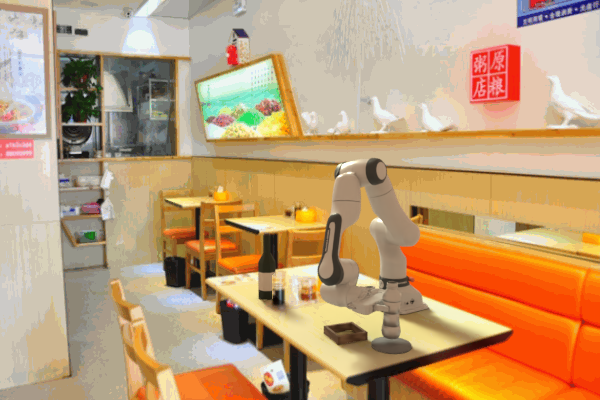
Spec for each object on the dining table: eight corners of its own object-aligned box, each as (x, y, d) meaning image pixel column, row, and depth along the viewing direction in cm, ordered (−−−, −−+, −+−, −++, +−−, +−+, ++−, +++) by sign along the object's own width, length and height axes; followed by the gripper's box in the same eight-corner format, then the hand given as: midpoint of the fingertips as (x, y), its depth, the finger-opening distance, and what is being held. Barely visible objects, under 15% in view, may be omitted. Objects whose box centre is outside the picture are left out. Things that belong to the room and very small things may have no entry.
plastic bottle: (400, 342, 185) (402, 285, 183) (380, 340, 186) (382, 284, 184) (400, 335, 192) (402, 280, 189) (381, 333, 193) (383, 279, 190)
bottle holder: (352, 329, 206) (352, 321, 205) (367, 340, 195) (367, 332, 194) (323, 333, 201) (323, 325, 201) (337, 344, 190) (337, 336, 190)
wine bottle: (261, 301, 241) (260, 235, 237) (255, 296, 248) (254, 232, 245) (278, 298, 244) (278, 233, 241) (272, 293, 252) (271, 230, 248)
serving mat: (397, 336, 198) (397, 334, 198) (419, 350, 186) (419, 348, 185) (364, 341, 193) (364, 339, 193) (384, 356, 180) (384, 354, 180)
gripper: (344, 297, 187) (379, 304, 178) (373, 284, 203) (407, 291, 195) (343, 314, 188) (378, 323, 179) (373, 300, 204) (406, 308, 195)
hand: (393, 306), depth 187 cm, fingers closed on plastic bottle, 6 cm apart
